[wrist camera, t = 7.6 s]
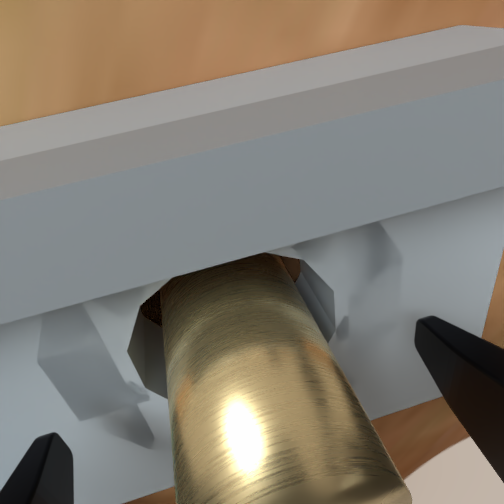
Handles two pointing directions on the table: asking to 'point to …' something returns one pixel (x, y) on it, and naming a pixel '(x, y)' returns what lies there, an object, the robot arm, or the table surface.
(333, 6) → the table surface
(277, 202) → the jig
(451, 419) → the table surface
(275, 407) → the brass cylinder
